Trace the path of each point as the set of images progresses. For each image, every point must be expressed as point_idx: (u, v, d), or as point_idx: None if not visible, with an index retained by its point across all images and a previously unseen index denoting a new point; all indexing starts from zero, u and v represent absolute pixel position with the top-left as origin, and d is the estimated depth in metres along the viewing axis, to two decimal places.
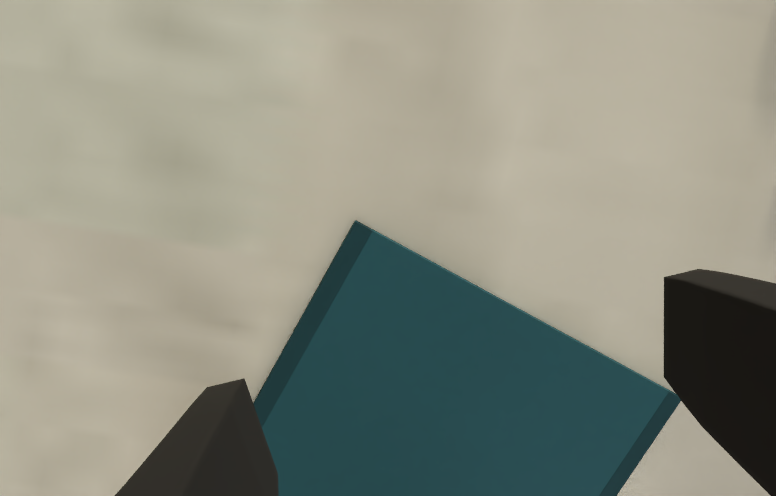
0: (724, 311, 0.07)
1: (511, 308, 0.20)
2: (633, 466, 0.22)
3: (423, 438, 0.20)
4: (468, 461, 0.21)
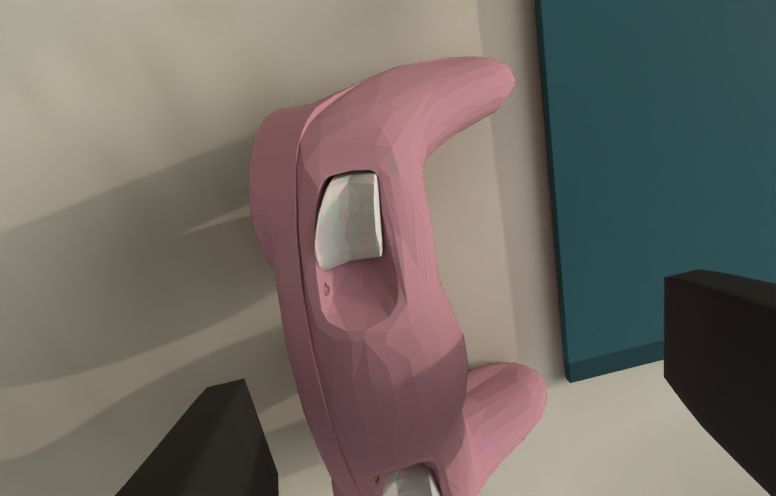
0: (724, 311, 0.07)
1: None
2: None
3: (735, 48, 0.13)
4: (728, 135, 0.14)
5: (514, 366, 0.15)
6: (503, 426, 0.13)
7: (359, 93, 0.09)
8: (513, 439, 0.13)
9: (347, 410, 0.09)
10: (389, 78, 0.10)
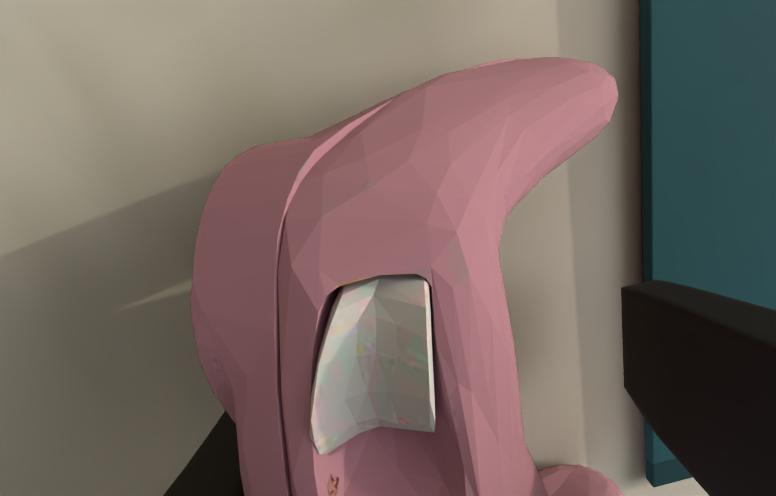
0: (674, 323, 0.07)
1: None
2: None
3: None
4: None
5: (582, 474, 0.11)
6: None
7: (389, 121, 0.05)
8: None
9: None
10: (437, 94, 0.06)
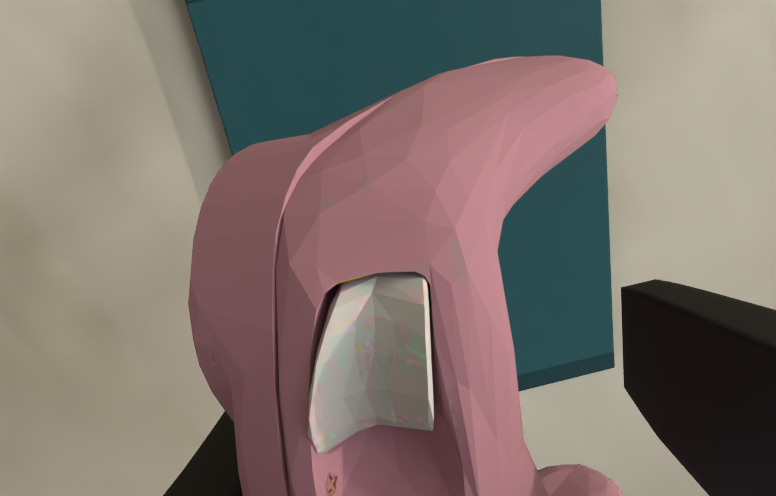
0: (674, 323, 0.07)
1: (603, 144, 0.16)
2: (524, 387, 0.19)
3: None
4: None
5: (581, 473, 0.11)
6: None
7: (388, 119, 0.05)
8: None
9: None
10: (436, 92, 0.06)
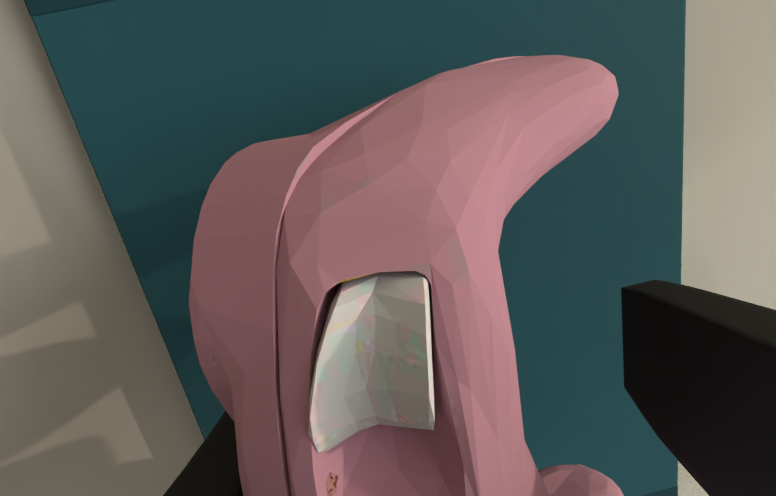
0: (674, 324, 0.07)
1: (678, 217, 0.11)
2: None
3: None
4: None
5: (582, 473, 0.11)
6: None
7: (388, 118, 0.05)
8: None
9: None
10: (436, 91, 0.06)
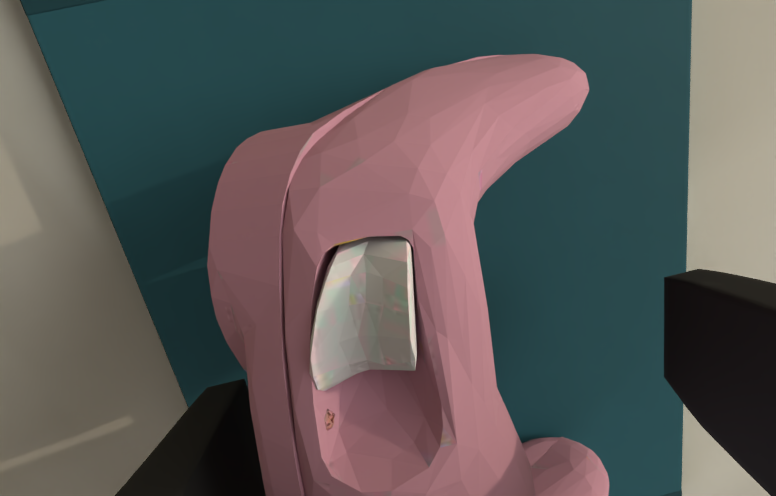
0: (724, 311, 0.07)
1: (683, 219, 0.11)
2: None
3: None
4: None
5: (564, 444, 0.12)
6: None
7: (379, 108, 0.06)
8: None
9: None
10: (422, 86, 0.07)
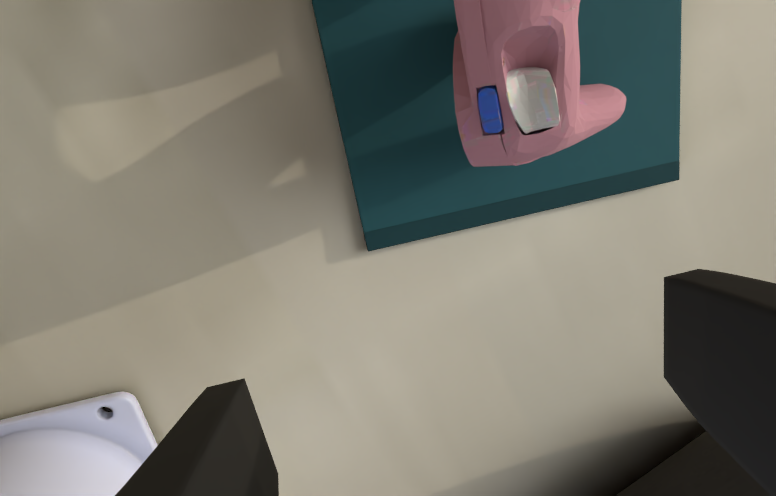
0: (724, 311, 0.07)
1: None
2: (584, 197, 0.18)
3: None
4: None
5: None
6: (594, 99, 0.14)
7: None
8: (602, 110, 0.14)
9: None
10: None
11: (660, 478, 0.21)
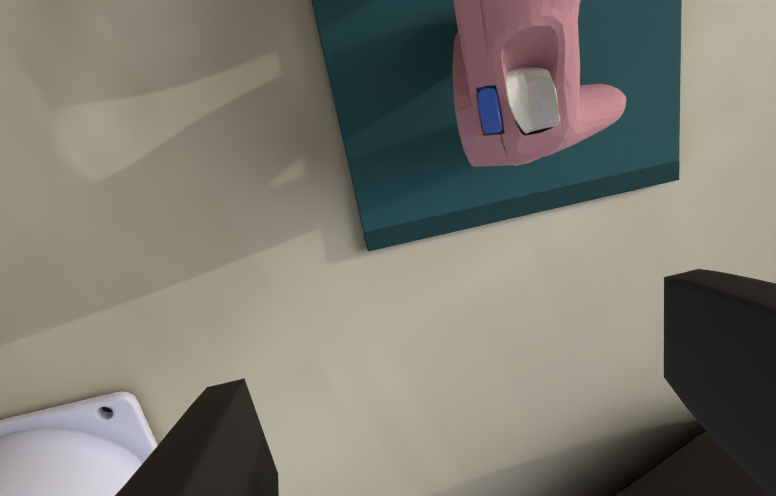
0: (724, 311, 0.07)
1: None
2: (584, 197, 0.18)
3: None
4: None
5: None
6: (594, 99, 0.14)
7: None
8: (602, 110, 0.14)
9: None
10: None
11: (660, 478, 0.21)
